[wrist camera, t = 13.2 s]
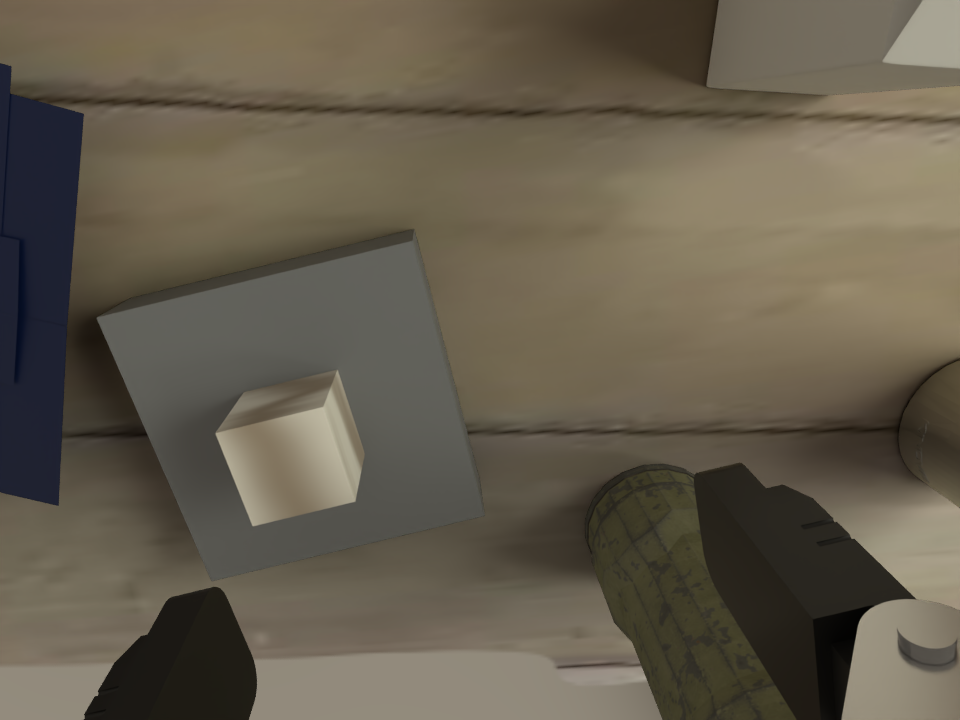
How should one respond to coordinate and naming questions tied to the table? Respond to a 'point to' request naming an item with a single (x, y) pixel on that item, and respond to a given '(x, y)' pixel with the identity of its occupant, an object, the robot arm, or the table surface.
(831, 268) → the table surface
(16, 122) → the papers
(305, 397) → the cream cube
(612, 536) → the thermos
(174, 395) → the charcoal plinth
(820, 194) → the table surface
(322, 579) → the table surface
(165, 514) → the table surface
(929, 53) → the milk carton
